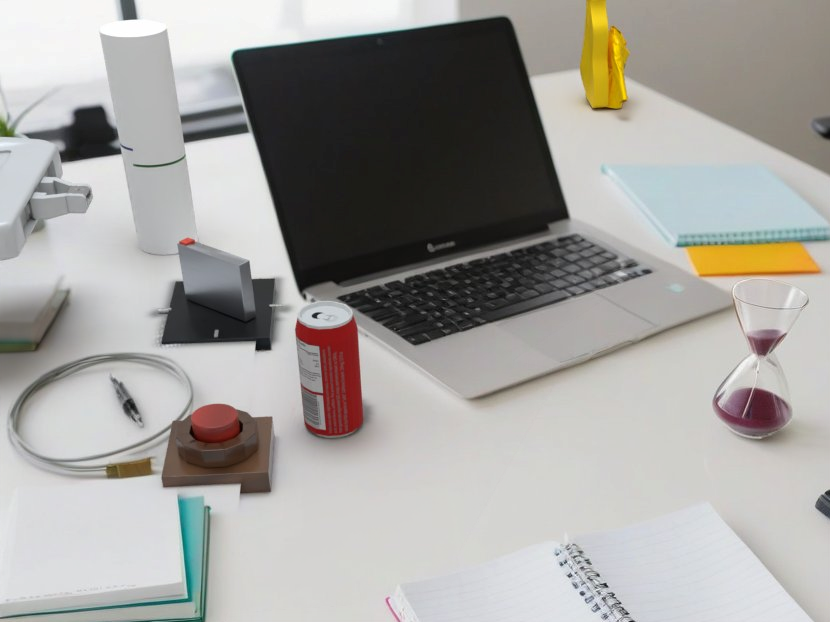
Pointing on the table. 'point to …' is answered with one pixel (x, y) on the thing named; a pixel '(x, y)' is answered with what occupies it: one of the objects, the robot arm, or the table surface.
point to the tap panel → (220, 319)
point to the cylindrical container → (149, 133)
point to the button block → (222, 456)
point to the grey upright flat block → (217, 279)
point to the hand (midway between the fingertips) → (89, 198)
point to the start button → (215, 423)
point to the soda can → (329, 368)
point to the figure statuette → (603, 59)
